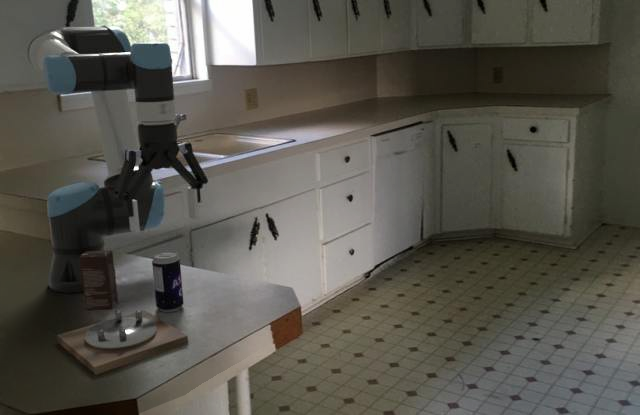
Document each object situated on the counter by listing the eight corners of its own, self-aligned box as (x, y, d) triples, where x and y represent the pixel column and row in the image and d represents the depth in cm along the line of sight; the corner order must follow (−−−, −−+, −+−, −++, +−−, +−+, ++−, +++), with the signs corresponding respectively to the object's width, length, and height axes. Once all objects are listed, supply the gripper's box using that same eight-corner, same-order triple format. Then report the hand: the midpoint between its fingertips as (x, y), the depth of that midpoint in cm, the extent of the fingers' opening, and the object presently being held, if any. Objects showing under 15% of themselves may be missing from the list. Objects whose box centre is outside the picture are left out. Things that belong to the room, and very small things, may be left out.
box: (118, 301, 150) (113, 249, 147) (112, 309, 146) (106, 255, 143) (91, 302, 150) (85, 250, 147) (84, 310, 146) (78, 256, 143)
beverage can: (177, 314, 142) (172, 259, 139) (152, 312, 143) (146, 258, 140) (187, 304, 147) (183, 251, 144) (163, 302, 148) (158, 250, 145)
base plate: (57, 342, 130) (56, 335, 130) (144, 316, 141) (143, 309, 141) (95, 374, 117) (94, 366, 116) (188, 343, 128) (187, 335, 128)
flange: (74, 335, 129) (72, 320, 129) (138, 316, 138) (136, 302, 137) (102, 357, 120) (101, 341, 119) (169, 335, 128) (167, 320, 127)
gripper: (105, 130, 125) (116, 241, 130) (220, 117, 140) (226, 216, 146) (88, 127, 130) (100, 233, 135) (200, 114, 146) (207, 210, 151)
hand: (165, 224), depth 141 cm, fingers open, 13 cm apart
